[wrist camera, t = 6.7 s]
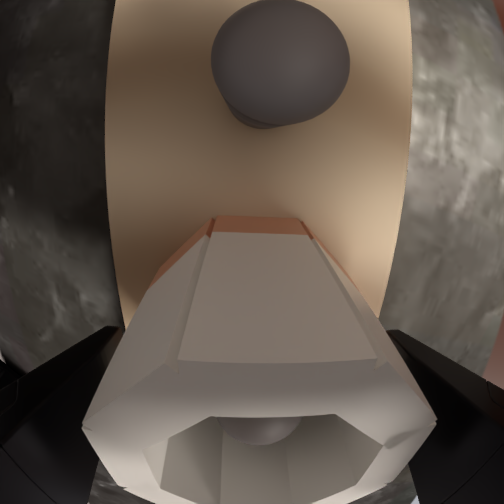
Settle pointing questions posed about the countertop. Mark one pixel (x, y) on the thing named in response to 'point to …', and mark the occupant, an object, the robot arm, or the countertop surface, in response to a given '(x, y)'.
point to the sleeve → (255, 377)
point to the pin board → (257, 134)
